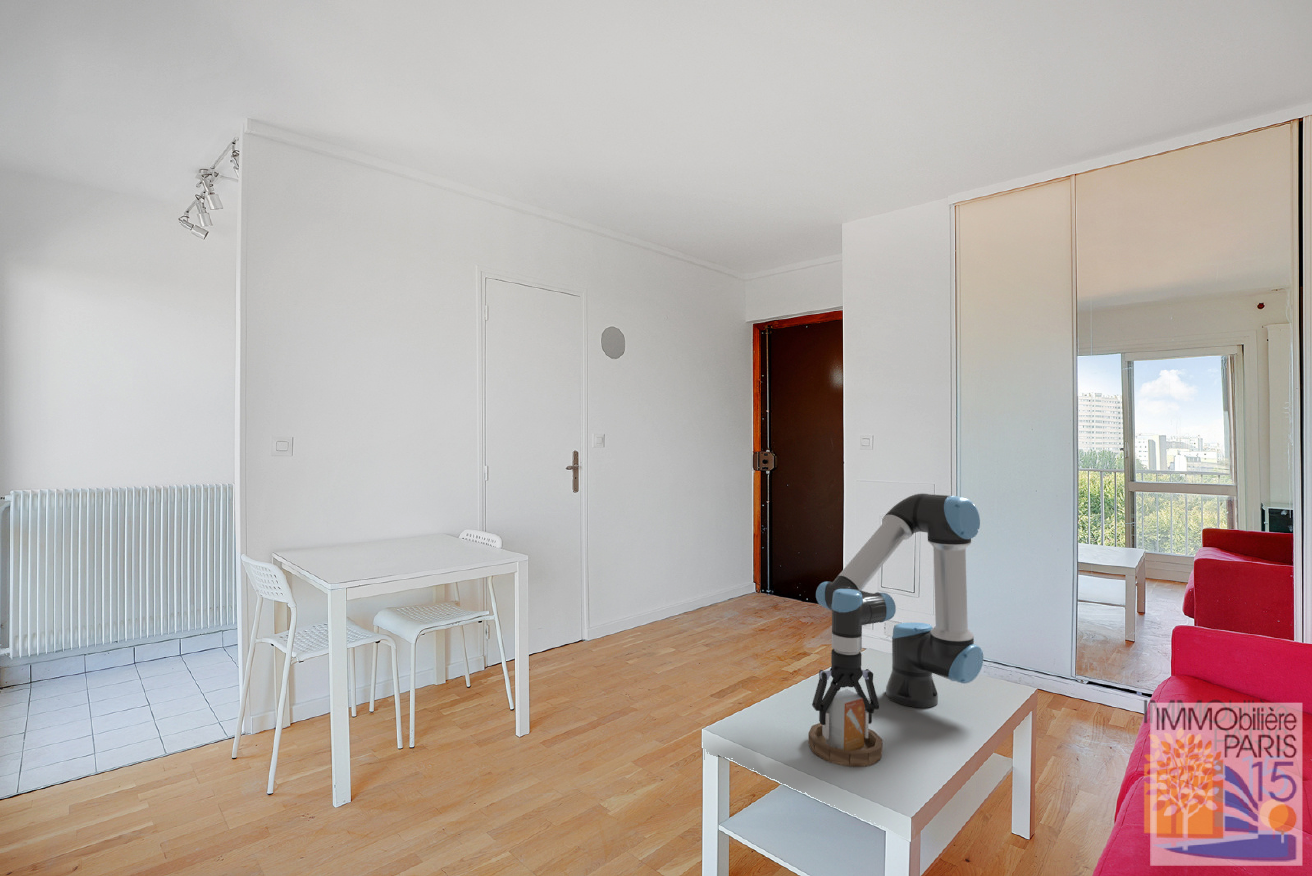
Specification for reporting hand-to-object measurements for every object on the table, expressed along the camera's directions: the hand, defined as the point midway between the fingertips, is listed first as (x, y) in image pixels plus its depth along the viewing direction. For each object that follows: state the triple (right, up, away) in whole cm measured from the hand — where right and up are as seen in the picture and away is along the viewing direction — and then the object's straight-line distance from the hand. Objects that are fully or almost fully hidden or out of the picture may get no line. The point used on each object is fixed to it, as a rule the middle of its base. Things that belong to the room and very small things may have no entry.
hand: (845, 736), depth 164 cm
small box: (0, -3, 0) cm, 3 cm away
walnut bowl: (0, -3, 0) cm, 3 cm away
